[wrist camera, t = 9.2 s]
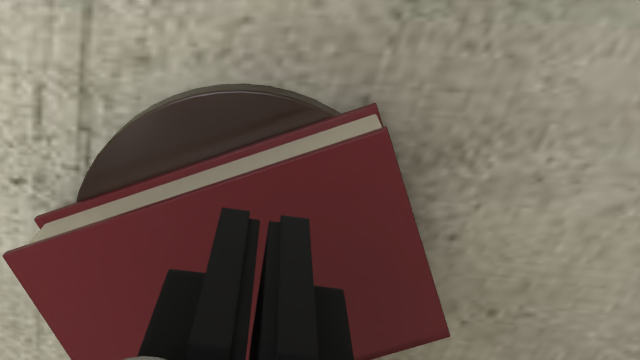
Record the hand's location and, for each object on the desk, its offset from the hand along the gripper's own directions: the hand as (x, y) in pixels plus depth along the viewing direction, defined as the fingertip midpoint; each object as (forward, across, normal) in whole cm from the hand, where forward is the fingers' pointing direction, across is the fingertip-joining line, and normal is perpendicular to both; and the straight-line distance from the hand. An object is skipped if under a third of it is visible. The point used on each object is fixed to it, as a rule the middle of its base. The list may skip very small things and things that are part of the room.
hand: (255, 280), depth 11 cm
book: (+11, 0, +6) cm, 13 cm away
